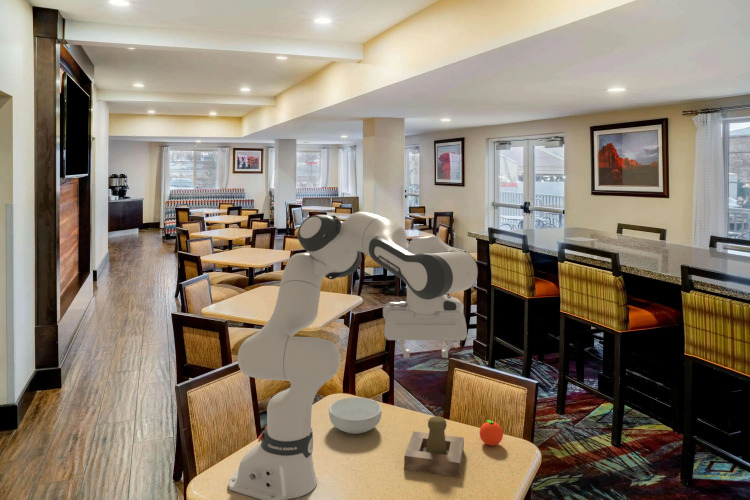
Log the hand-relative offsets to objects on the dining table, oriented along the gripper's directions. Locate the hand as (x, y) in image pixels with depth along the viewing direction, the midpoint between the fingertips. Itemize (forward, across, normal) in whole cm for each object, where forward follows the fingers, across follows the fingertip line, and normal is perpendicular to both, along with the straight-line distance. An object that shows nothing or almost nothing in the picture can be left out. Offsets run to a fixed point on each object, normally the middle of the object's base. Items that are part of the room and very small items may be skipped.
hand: (425, 357), depth 134 cm
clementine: (+35, +19, +29) cm, 49 cm away
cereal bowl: (+33, -22, +34) cm, 53 cm away
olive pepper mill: (+33, +3, +17) cm, 38 cm away
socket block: (+34, +2, +17) cm, 39 cm away
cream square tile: (+34, +2, +17) cm, 38 cm away
